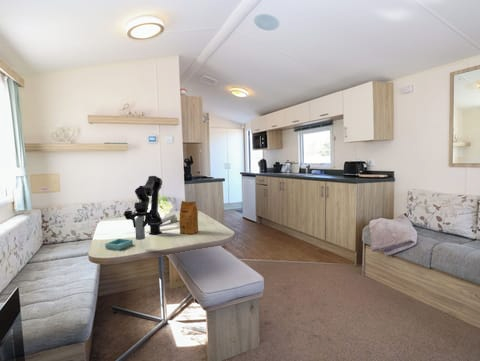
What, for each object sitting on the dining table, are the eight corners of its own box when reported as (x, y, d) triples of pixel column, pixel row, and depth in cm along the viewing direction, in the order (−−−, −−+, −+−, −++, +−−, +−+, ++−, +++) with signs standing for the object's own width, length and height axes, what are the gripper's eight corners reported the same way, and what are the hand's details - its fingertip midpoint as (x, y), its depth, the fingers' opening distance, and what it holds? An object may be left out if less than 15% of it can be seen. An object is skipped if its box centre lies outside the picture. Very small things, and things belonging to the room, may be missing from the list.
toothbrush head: (148, 222, 213) (173, 211, 233) (149, 230, 214) (174, 219, 234) (152, 223, 210) (177, 212, 230) (154, 231, 211) (178, 220, 231)
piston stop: (139, 236, 166) (138, 215, 165) (146, 237, 164) (145, 215, 163) (134, 239, 161) (132, 217, 160) (141, 240, 160) (139, 217, 158)
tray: (119, 243, 176) (118, 238, 175) (132, 244, 172) (132, 239, 172) (105, 248, 166) (105, 243, 165) (119, 250, 162) (119, 245, 162)
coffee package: (185, 229, 202) (183, 199, 200) (200, 231, 198) (199, 200, 196) (177, 233, 193) (175, 202, 191) (193, 235, 189) (191, 202, 187)
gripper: (123, 197, 164) (117, 220, 154) (156, 196, 165) (152, 219, 155) (129, 207, 173) (124, 230, 163) (160, 206, 173) (156, 229, 164)
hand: (139, 227), depth 161 cm, fingers closed on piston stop, 5 cm apart
